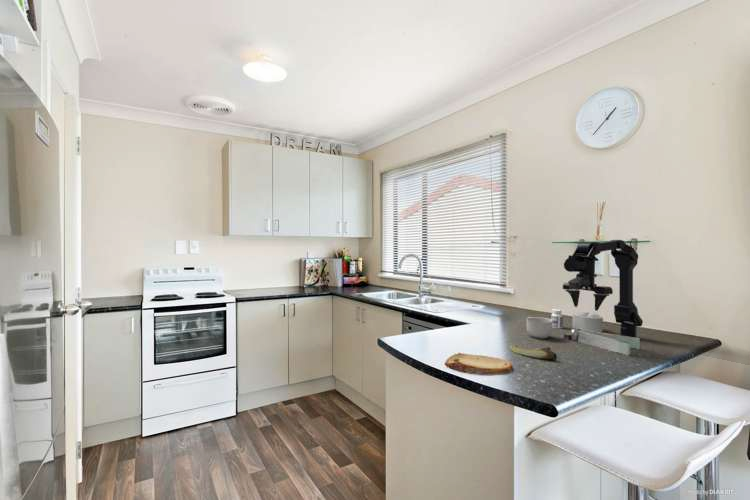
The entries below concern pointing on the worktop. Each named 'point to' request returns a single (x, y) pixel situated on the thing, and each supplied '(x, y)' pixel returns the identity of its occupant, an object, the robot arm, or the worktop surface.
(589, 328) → the lumpy-topped squat cylinder
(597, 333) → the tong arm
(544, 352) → the olive green elongated piece
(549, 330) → the teacup
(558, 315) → the pill bottle
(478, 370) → the bread slice
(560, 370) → the worktop surface
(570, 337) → the tongs fixed arm
